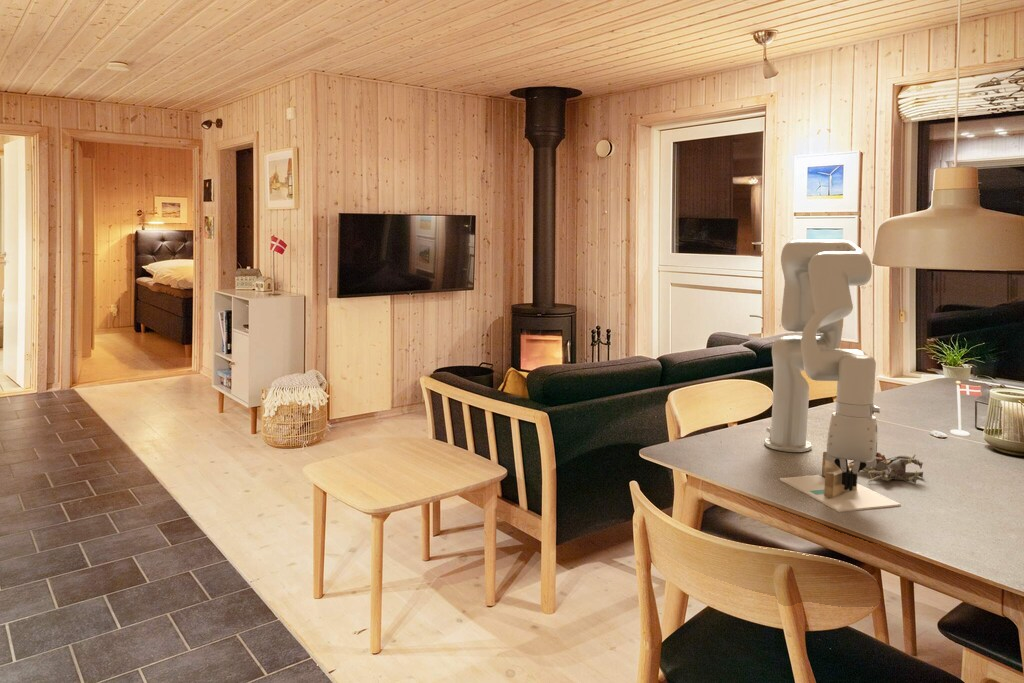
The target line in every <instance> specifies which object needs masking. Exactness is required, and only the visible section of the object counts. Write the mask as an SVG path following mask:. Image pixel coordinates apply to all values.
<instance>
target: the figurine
mask: <svg viewBox="0 0 1024 683" xmlns="http://www.w3.org/2000/svg"><path fill="white" fill-rule="evenodd" d="M915 457H916V454H914V455H913V454H912V457H911V456H907V455H902V454H901V455H896V456H891V457H889V458H886V455H885V454H881V452H878V451H877V454H876V461H877V465H876V467H868V468H867V467H865V468H864V469H862V470H861V471H862V472H865V473H868V474H869V475H870V477H871V478H870V479H869V480H868V482H867V484H871V483H872V482H873V481H876V480H879V479H880V480H882V481H885V482H889V483H890V482H891V480H894V481H895V480H897V481H903V482H910V483H913V484H914V485H916V483H917V481H918V480H919V479H918V478H921V479H923V477H924V471H917V470H916V471H907V470H906V468H907V465H908V464H909V465H910V464H913V465H916V466H919V469H923V464H924V462H922V461H920V459H918V458H915ZM861 462H862V461H861ZM848 463H849V464H850V463H854V460H851V462H848ZM871 474H874V476H875V477H872V475H871Z"/></svg>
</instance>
